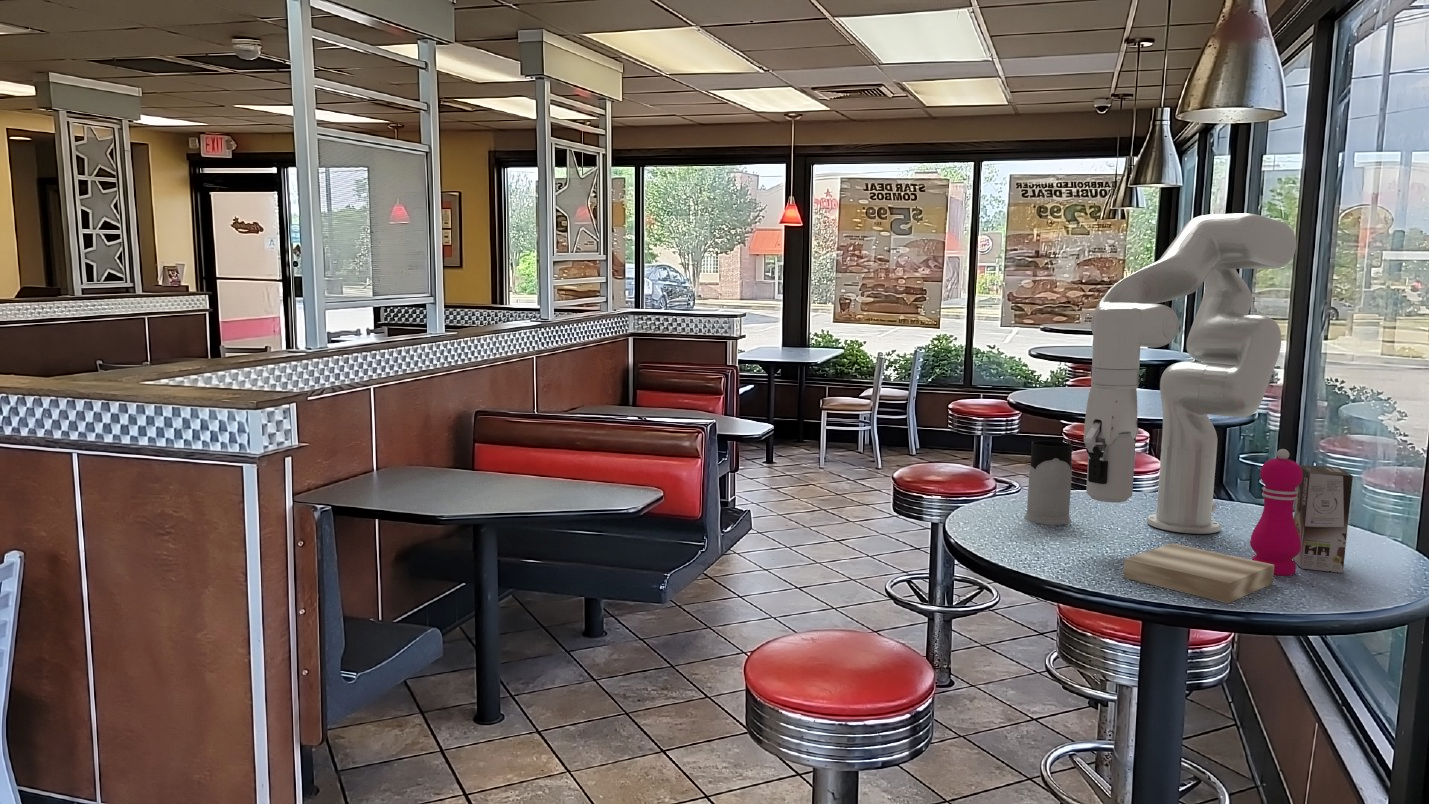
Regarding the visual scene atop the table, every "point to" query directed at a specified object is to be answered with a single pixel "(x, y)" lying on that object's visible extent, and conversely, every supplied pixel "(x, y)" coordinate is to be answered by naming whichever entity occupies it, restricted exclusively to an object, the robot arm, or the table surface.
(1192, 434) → the robot arm
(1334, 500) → the coffee box
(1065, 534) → the table surface
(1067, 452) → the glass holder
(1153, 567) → the plinth
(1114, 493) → the can
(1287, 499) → the pepper mill
